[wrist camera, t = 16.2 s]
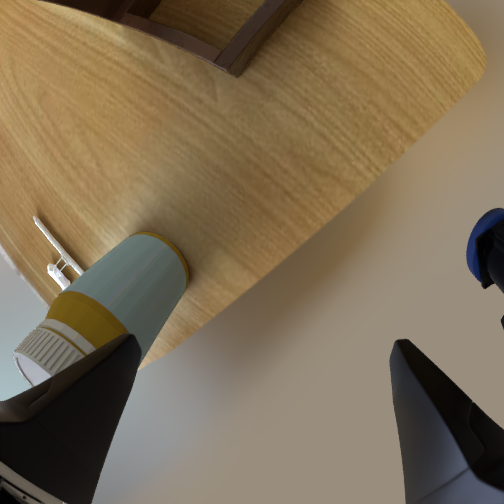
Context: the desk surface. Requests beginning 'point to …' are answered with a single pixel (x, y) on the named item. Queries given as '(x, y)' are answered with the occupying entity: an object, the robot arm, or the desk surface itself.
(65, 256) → the picture light
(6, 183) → the desk surface
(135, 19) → the tray
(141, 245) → the bottle
